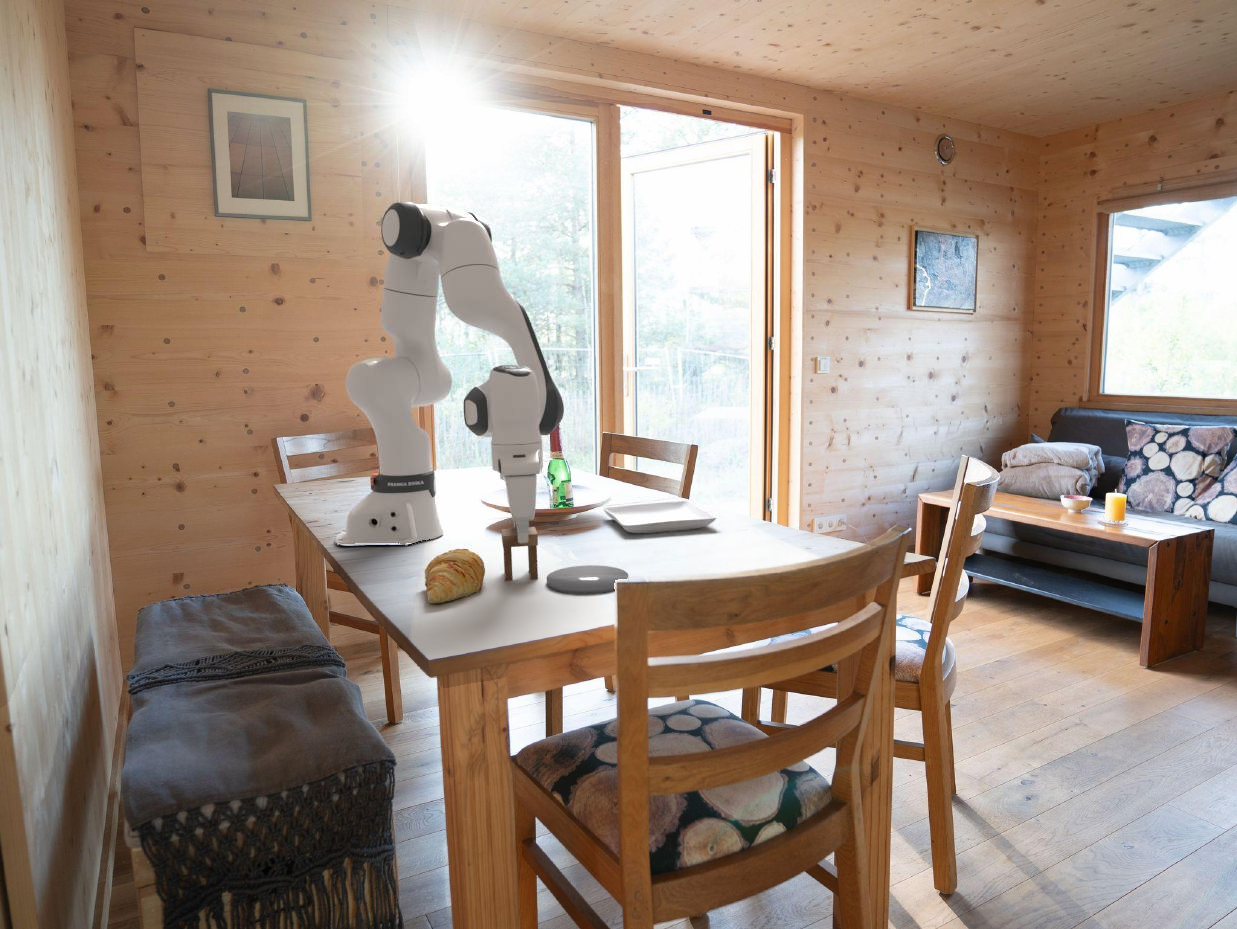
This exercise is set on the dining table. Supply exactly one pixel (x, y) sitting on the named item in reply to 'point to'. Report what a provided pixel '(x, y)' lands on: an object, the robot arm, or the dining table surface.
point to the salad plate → (660, 517)
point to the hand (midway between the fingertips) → (521, 536)
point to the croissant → (453, 575)
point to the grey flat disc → (585, 579)
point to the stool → (512, 541)
